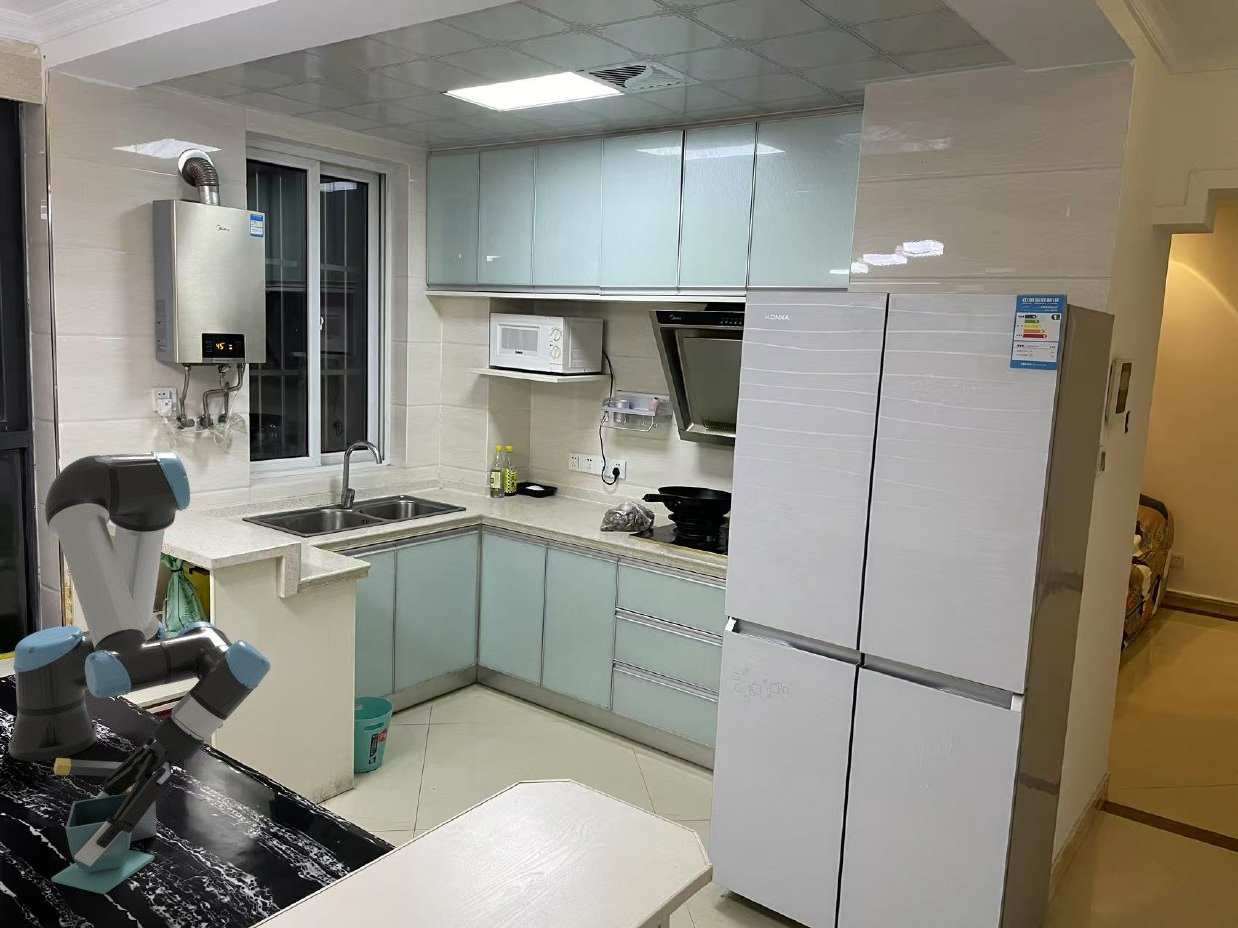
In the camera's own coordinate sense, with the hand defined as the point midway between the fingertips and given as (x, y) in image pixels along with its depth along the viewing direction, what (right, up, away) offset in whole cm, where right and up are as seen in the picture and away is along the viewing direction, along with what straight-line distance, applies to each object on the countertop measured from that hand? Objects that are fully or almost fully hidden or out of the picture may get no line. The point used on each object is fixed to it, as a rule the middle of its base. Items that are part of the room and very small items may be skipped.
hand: (79, 845), depth 143 cm
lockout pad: (+2, -5, +2) cm, 6 cm away
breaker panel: (0, -3, +15) cm, 16 cm away
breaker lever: (-1, +6, +16) cm, 17 cm away
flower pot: (+2, -4, +2) cm, 5 cm away
